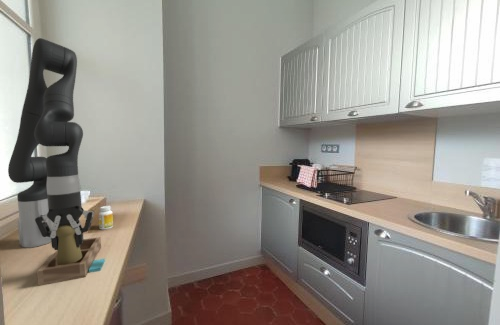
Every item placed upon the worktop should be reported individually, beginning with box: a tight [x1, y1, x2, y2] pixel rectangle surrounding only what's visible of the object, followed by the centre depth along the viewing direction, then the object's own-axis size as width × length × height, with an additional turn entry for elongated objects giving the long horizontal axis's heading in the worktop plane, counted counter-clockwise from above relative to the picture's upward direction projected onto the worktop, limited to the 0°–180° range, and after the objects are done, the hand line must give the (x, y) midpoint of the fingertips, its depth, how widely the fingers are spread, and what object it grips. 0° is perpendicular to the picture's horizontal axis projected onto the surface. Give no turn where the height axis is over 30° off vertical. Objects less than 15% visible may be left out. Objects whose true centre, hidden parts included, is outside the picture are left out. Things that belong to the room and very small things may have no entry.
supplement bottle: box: [98, 205, 114, 231], centre depth 104 cm, size 5×5×10 cm
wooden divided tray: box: [36, 236, 106, 286], centre depth 73 cm, size 20×14×4 cm
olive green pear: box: [56, 225, 82, 265], centre depth 68 cm, size 6×6×11 cm
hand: (68, 247), depth 68 cm, fingers closed on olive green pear, 4 cm apart
